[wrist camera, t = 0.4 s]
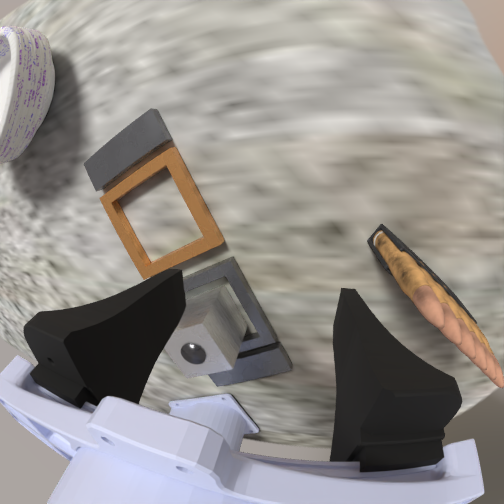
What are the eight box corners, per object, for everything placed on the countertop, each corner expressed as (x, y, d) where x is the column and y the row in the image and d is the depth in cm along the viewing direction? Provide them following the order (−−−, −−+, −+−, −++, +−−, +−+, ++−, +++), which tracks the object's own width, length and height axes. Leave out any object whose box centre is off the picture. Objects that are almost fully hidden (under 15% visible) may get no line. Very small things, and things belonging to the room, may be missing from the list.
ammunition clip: (455, 294, 21) (516, 381, 10) (442, 308, 22) (496, 400, 11) (381, 222, 21) (446, 301, 9) (366, 240, 21) (416, 332, 10)
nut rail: (219, 380, 29) (217, 386, 28) (90, 162, 23) (83, 163, 22) (292, 363, 27) (291, 370, 26) (157, 109, 20) (151, 108, 19)
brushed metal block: (207, 336, 27) (186, 379, 22) (183, 299, 26) (155, 338, 20) (247, 324, 26) (232, 370, 20) (224, 284, 25) (201, 324, 19)
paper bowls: (17, 181, 25) (-32, 196, 18) (-3, 90, 21) (-46, 92, 14) (88, 107, 21) (25, 105, 14) (63, 11, 17) (14, -3, 10)
